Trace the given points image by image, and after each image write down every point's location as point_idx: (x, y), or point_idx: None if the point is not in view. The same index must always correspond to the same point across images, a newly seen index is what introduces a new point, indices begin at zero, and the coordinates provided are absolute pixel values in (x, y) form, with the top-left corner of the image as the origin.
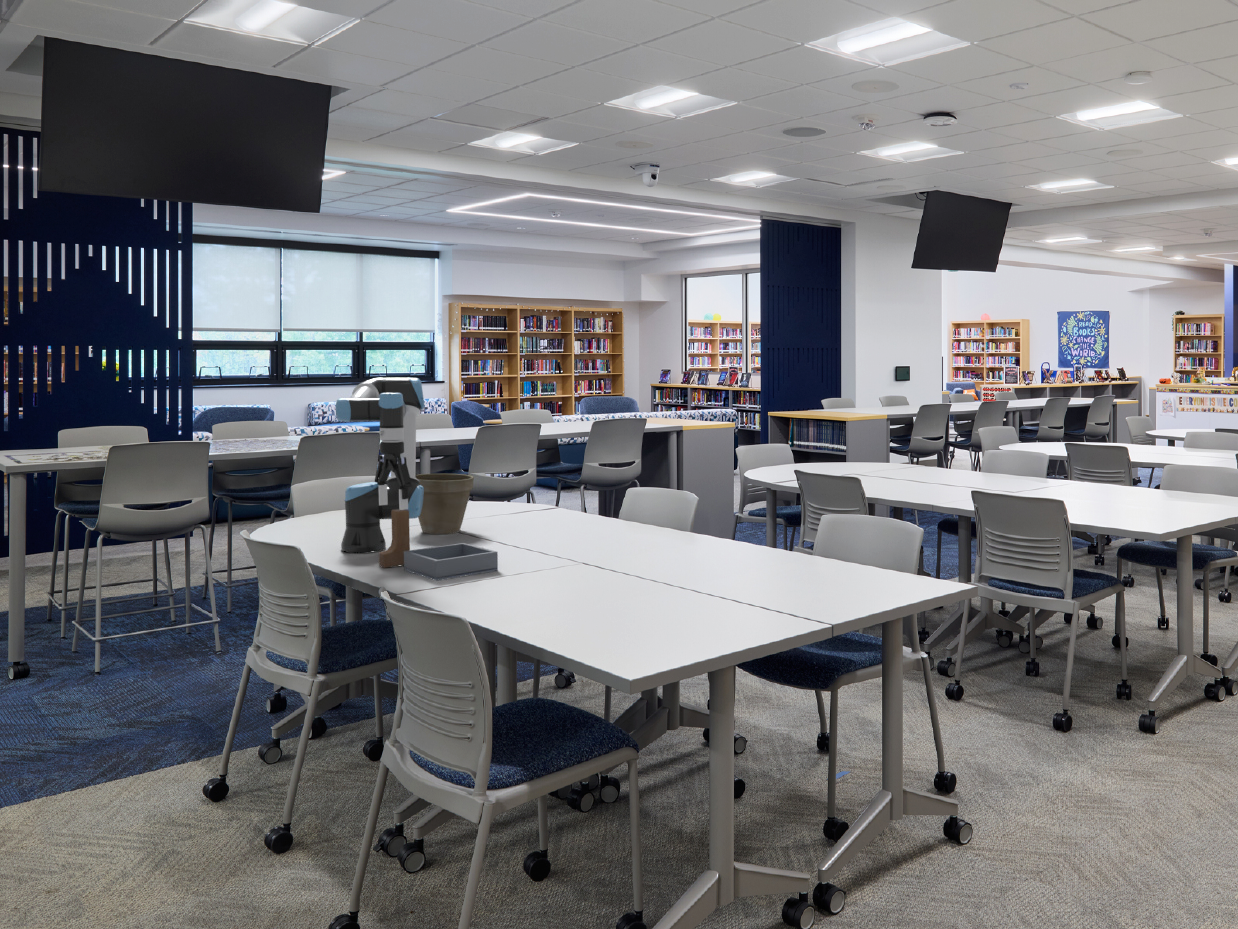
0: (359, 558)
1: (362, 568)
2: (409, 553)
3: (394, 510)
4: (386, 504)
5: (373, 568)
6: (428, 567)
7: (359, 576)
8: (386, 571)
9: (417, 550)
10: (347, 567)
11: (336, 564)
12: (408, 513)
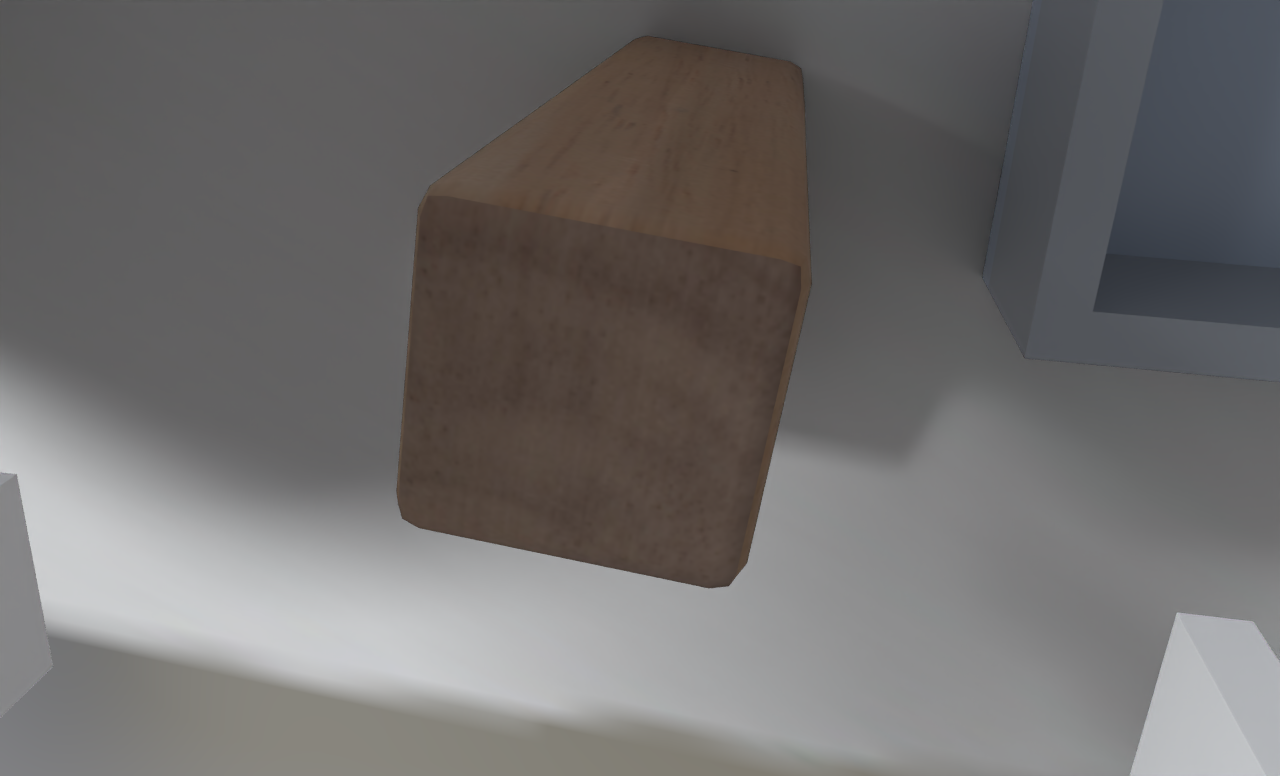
0: (79, 273)
1: None
2: (1194, 371)
3: (554, 543)
4: (16, 509)
5: None
6: None
7: (877, 714)
8: (885, 442)
9: (1121, 169)
10: (434, 581)
11: (240, 574)
12: (808, 262)
